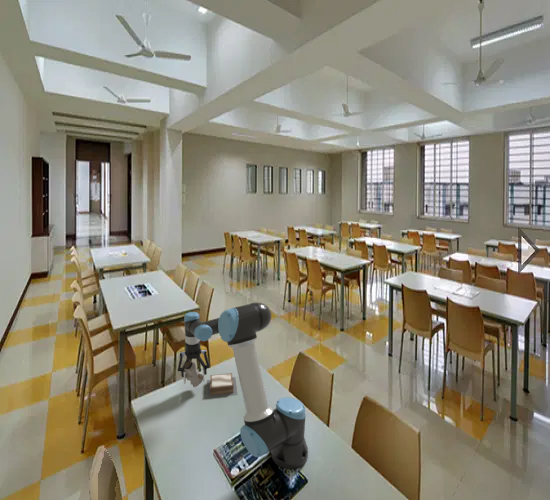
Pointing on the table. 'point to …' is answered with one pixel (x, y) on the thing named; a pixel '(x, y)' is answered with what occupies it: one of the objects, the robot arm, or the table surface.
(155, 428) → the table surface
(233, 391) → the mat
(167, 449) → the table surface
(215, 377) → the plinth
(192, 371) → the figurine
